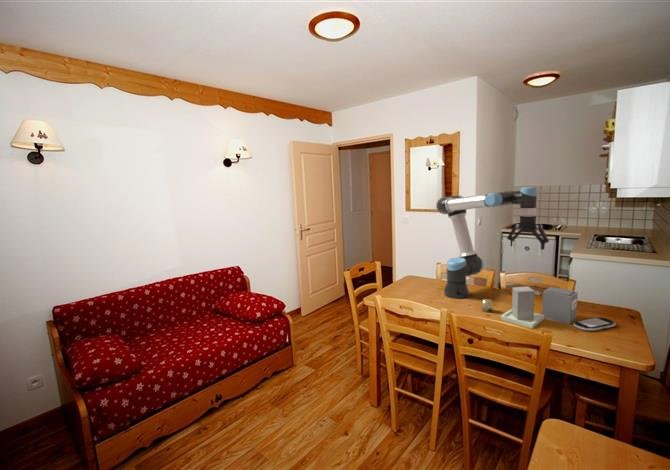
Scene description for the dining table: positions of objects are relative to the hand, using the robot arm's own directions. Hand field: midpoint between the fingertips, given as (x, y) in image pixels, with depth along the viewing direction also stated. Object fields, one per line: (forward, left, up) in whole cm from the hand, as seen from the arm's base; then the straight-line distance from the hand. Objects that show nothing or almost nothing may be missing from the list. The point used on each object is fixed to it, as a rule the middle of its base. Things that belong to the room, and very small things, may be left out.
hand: (526, 253), depth 176 cm
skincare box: (+6, -19, -30) cm, 36 cm away
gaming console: (+32, -4, -31) cm, 45 cm away
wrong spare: (-12, -20, -31) cm, 39 cm away
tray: (+6, -19, -31) cm, 37 cm away
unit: (+18, -5, -31) cm, 36 cm away
